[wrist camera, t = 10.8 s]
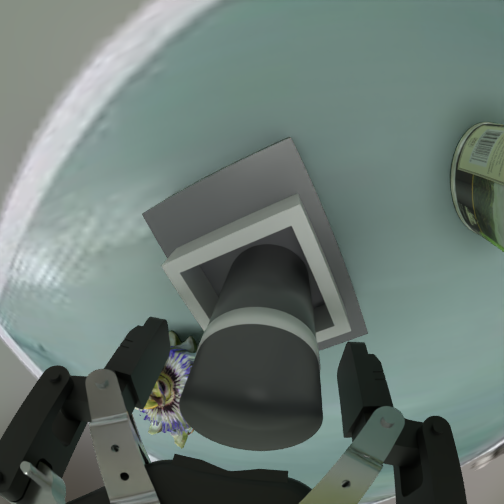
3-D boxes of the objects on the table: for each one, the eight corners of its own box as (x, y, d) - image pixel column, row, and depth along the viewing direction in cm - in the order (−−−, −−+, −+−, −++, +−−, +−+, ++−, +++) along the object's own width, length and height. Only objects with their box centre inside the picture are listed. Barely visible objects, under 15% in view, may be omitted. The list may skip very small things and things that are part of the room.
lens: (231, 237, 17) (171, 359, 8) (317, 250, 16) (345, 384, 7) (225, 308, 19) (182, 437, 10) (301, 319, 19) (303, 455, 9)
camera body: (289, 136, 19) (292, 137, 12) (355, 296, 23) (375, 357, 16) (170, 195, 21) (121, 226, 15) (250, 332, 26) (238, 395, 19)
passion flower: (189, 308, 32) (199, 324, 21) (243, 376, 33) (277, 417, 22) (116, 361, 29) (91, 400, 18) (173, 425, 30) (179, 482, 18)
